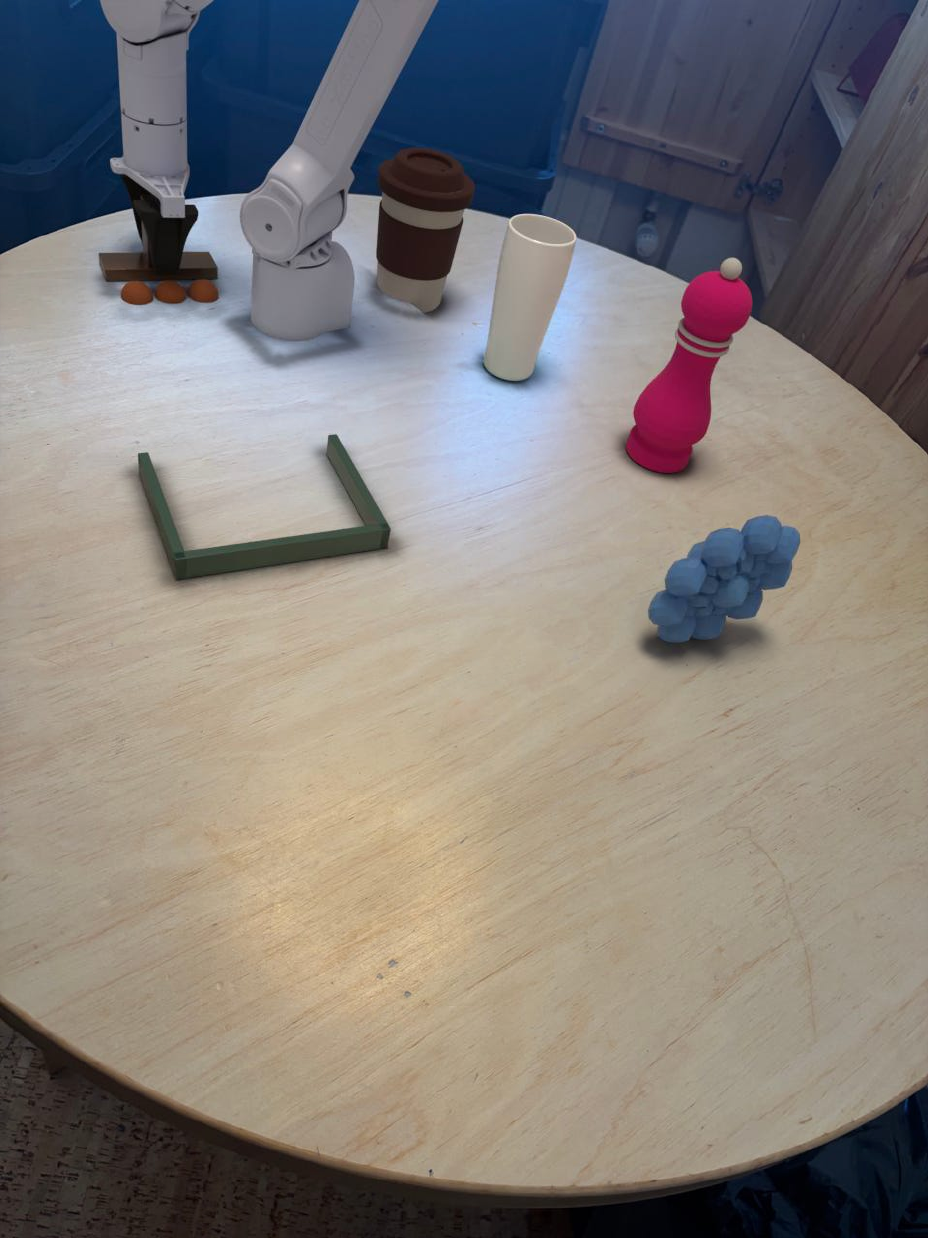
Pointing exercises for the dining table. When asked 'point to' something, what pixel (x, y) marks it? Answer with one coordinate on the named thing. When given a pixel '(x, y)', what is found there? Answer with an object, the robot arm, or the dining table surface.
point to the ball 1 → (136, 293)
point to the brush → (141, 266)
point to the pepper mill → (689, 371)
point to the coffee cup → (419, 224)
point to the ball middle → (170, 292)
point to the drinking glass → (526, 292)
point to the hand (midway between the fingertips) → (158, 257)
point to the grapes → (723, 579)
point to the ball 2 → (203, 291)
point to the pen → (278, 548)
